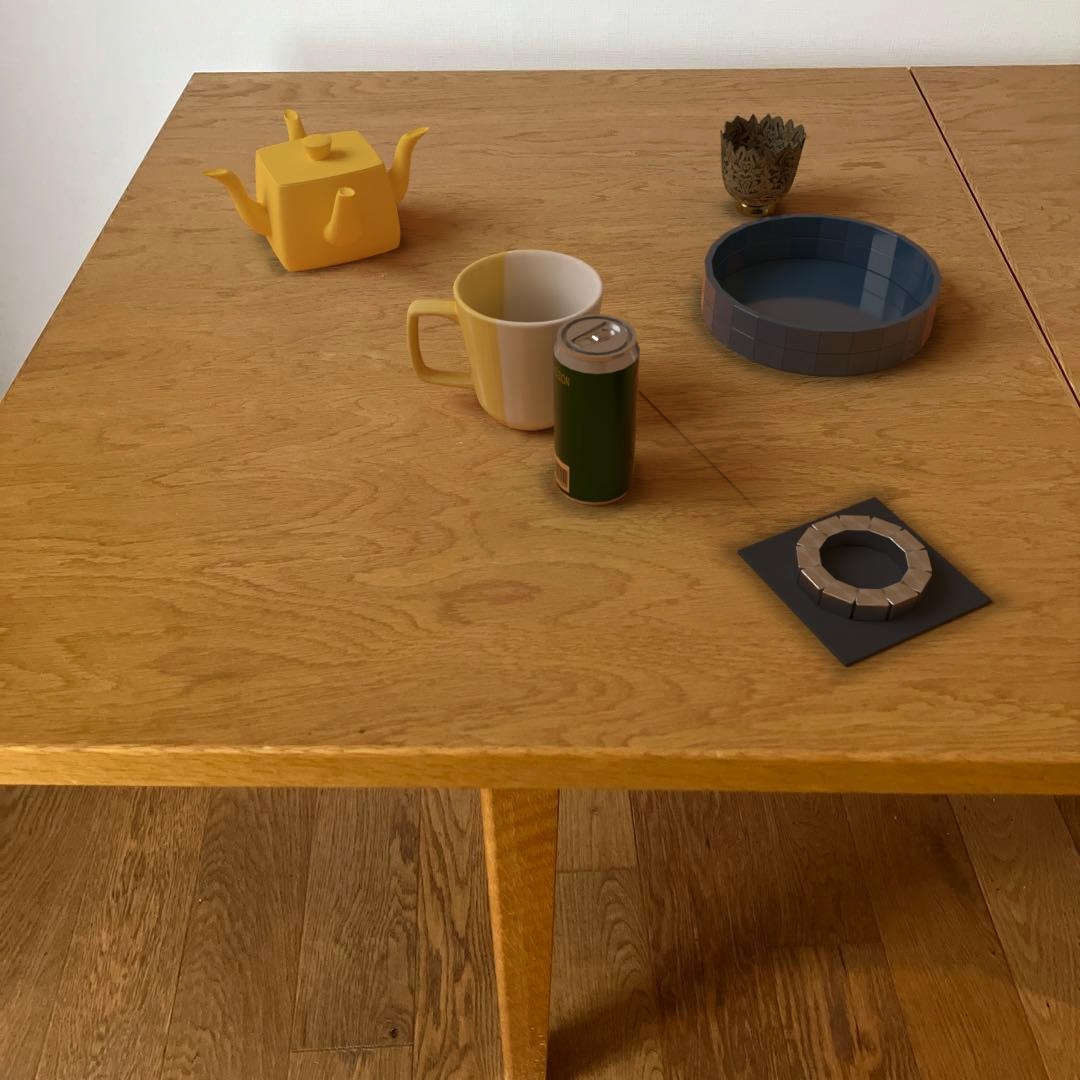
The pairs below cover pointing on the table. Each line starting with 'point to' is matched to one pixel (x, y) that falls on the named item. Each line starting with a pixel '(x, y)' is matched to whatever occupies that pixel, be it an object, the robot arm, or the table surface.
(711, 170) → the table surface
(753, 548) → the mat
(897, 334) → the bowl
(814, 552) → the ring
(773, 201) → the cup
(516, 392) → the mug
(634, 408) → the beer can
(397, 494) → the table surface
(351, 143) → the teapot
